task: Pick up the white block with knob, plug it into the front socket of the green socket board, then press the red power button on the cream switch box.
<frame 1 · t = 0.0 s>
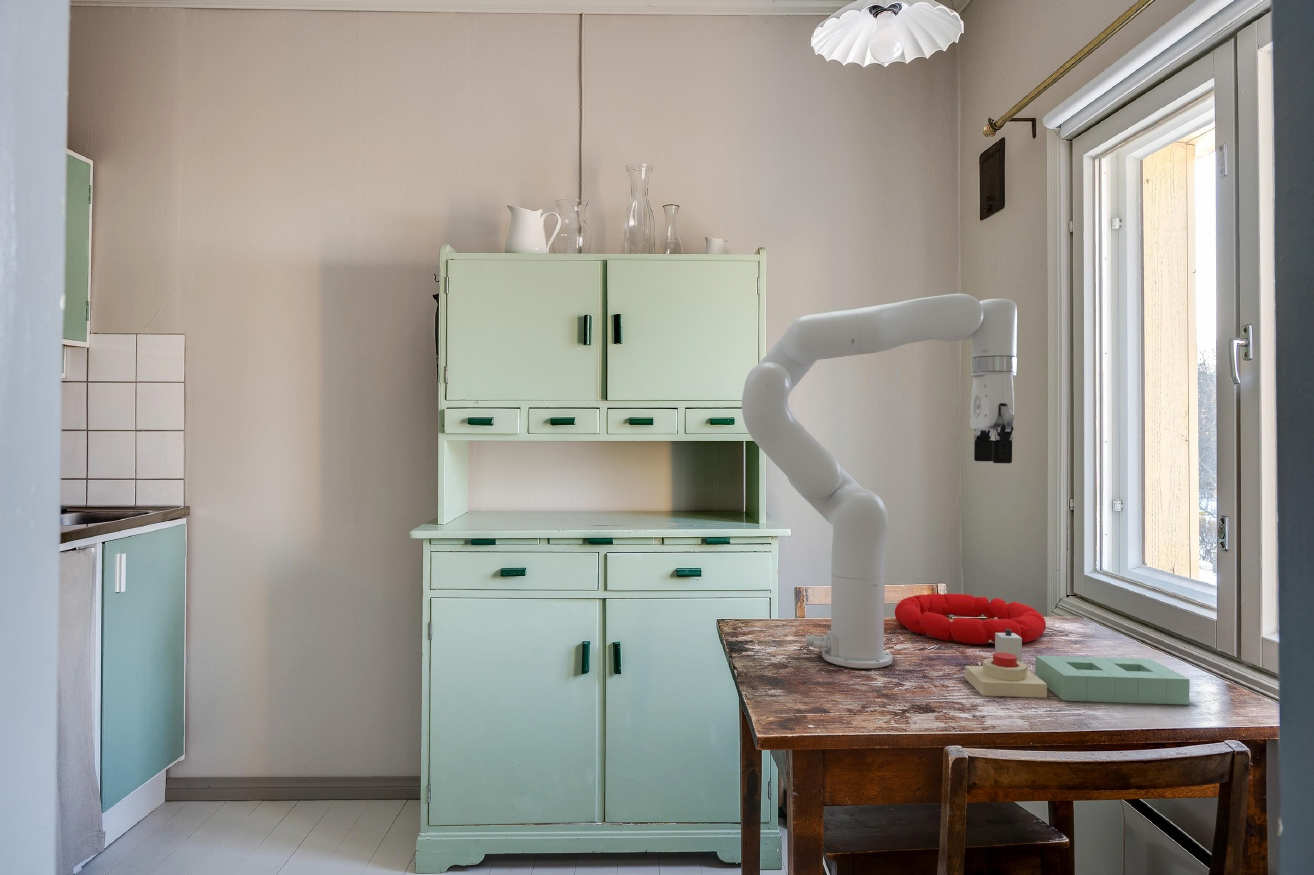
hand: (992, 462, 144), 37 cm above the table, tool pointing down, fingers open, 9 cm apart
power button: (1004, 660, 130), point 4 cm above the table, slide at 0.1 cm
switch box: (1004, 687, 130), on the table
decorative ring: (967, 630, 170), on the table
green socket board: (1108, 691, 129), on the table
white block with knob: (1007, 668, 141), on the table
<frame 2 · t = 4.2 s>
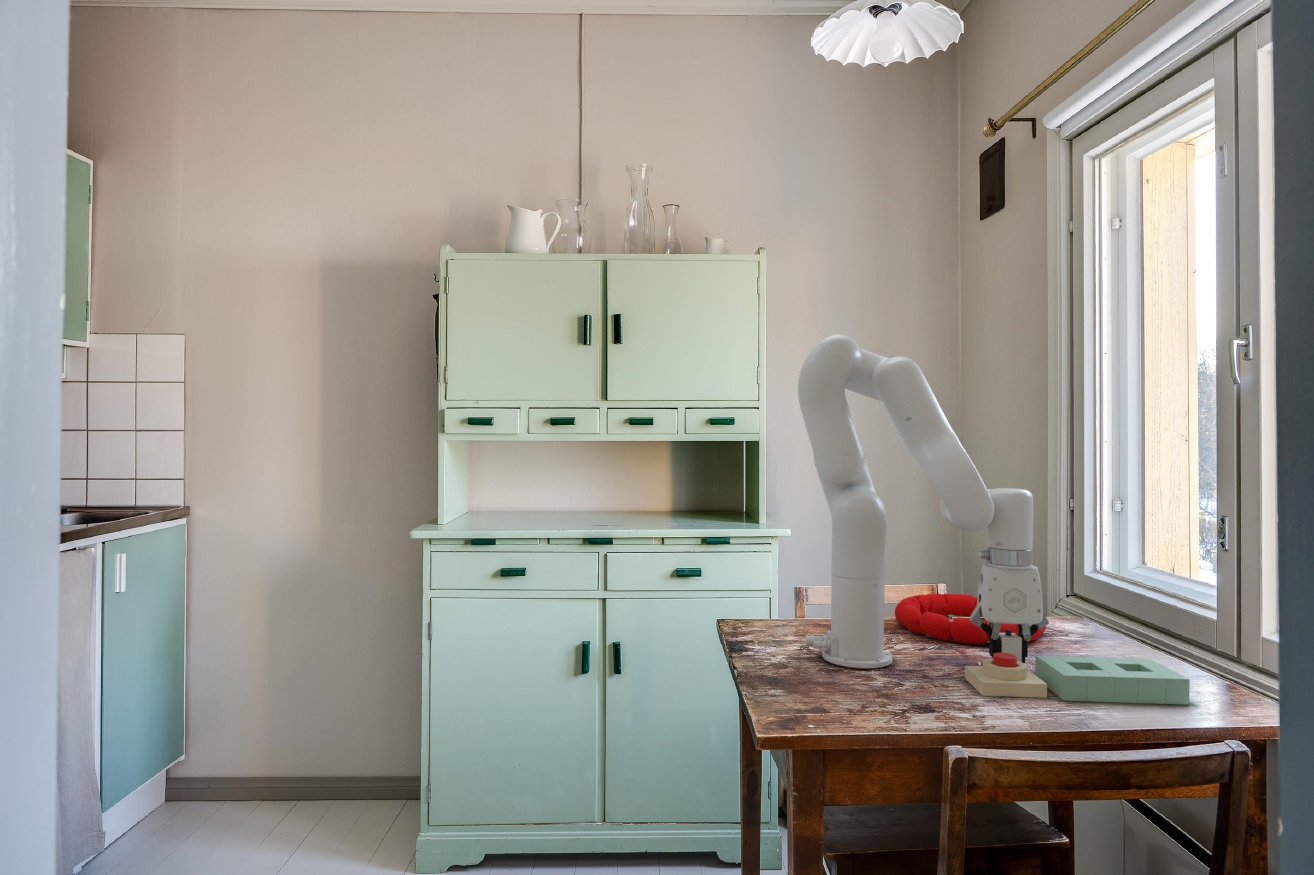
hand: (1008, 659, 141), 2 cm above the table, tool pointing down, fingers closed on white block with knob, 3 cm apart
white block with knob: (1008, 668, 141), on the table, touching gripper
everything else where it was.
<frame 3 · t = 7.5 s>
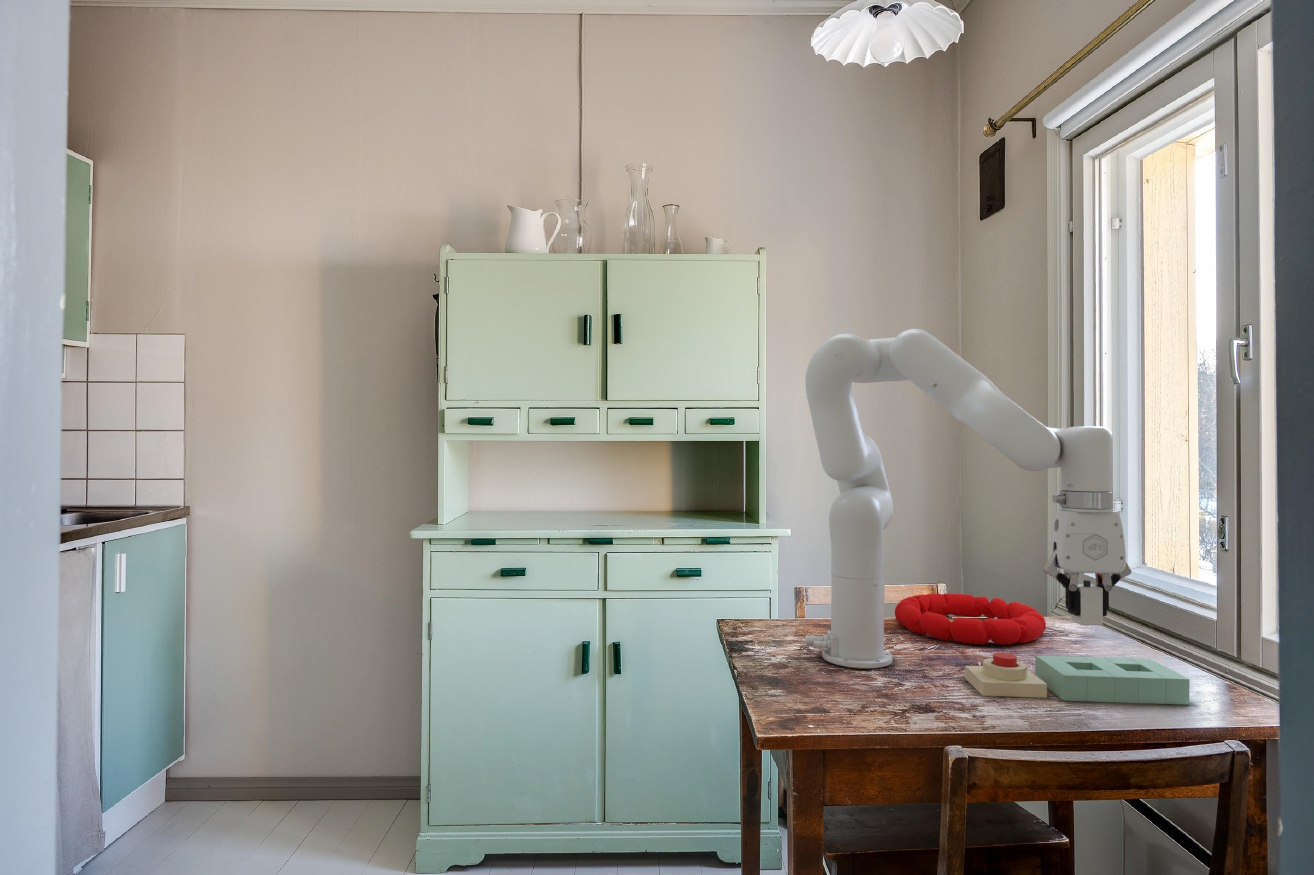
hand: (1087, 613, 129), 13 cm above the table, tool pointing down, fingers closed on white block with knob, 3 cm apart
white block with knob: (1087, 623, 129), point 11 cm above the table, touching gripper
everything else where it was.
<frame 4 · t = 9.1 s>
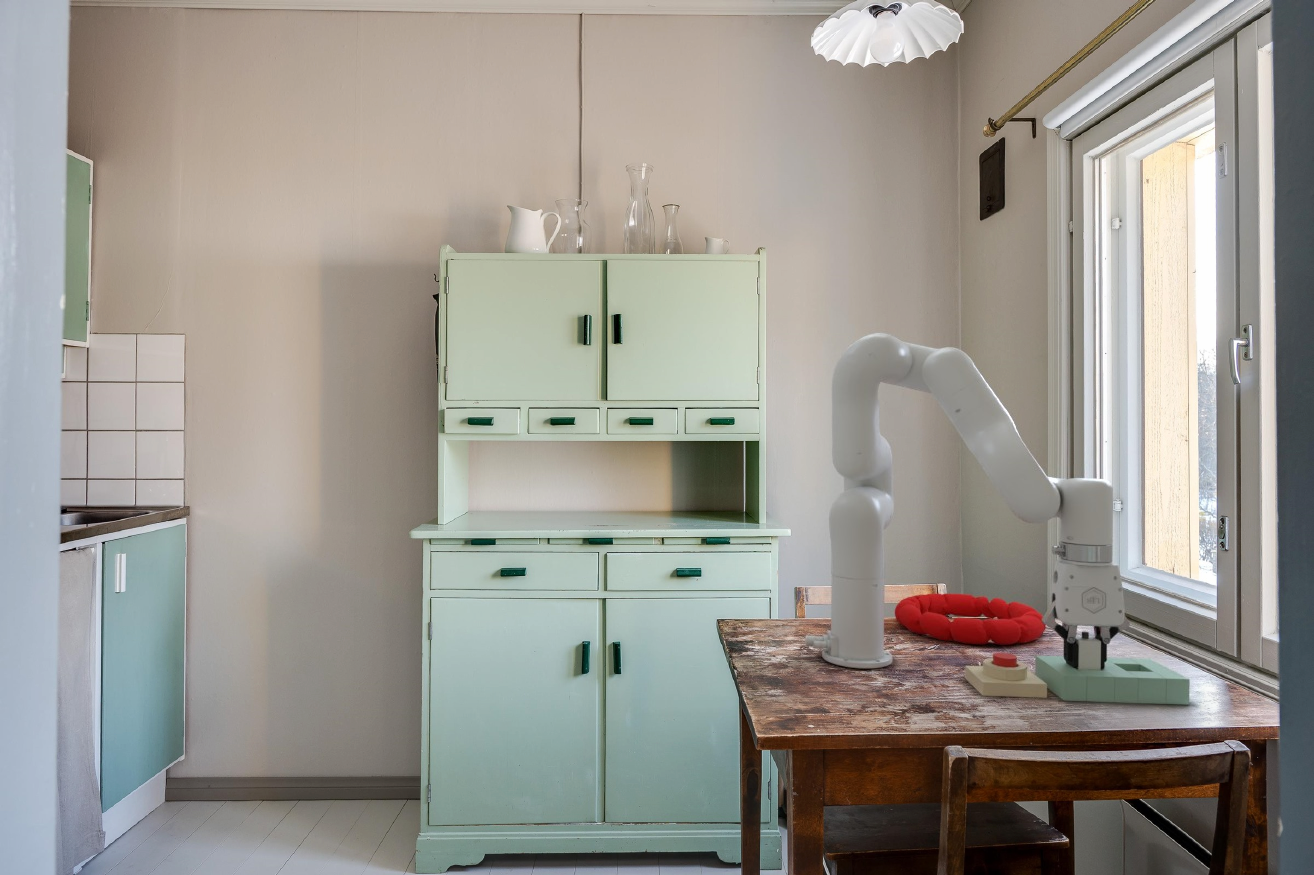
hand: (1084, 664, 129), 4 cm above the table, tool pointing down, fingers closed on white block with knob, 3 cm apart
white block with knob: (1084, 674, 129), point 3 cm above the table, touching gripper
everything else where it was.
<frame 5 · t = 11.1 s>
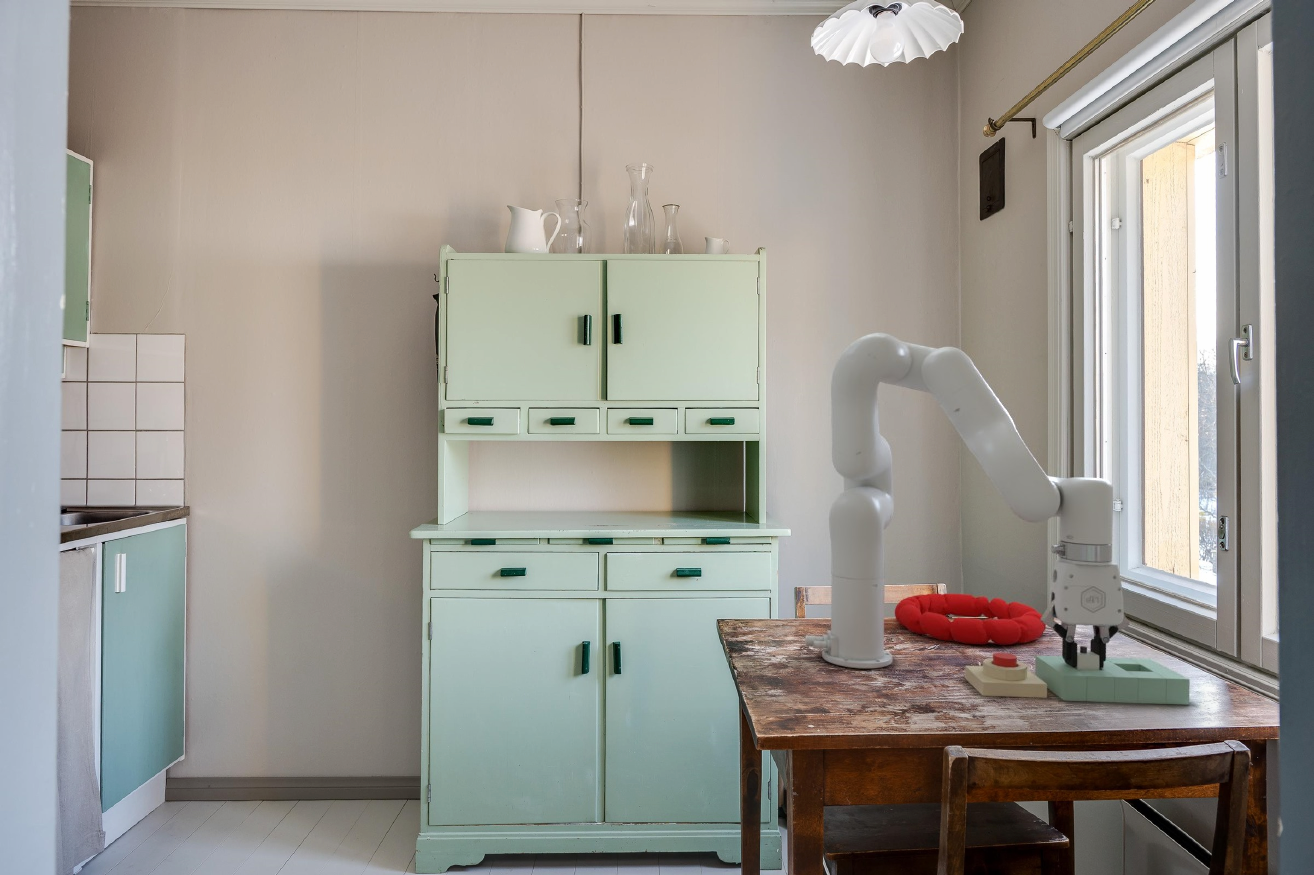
hand: (1083, 664, 129), 4 cm above the table, tool pointing down, fingers closed on white block with knob, 3 cm apart
white block with knob: (1083, 689, 129), resting in green socket board, touching gripper
everything else where it was.
when the fingers open (4 cm above the table, at t = 11.1 s): white block with knob stays where it is, resting in green socket board.
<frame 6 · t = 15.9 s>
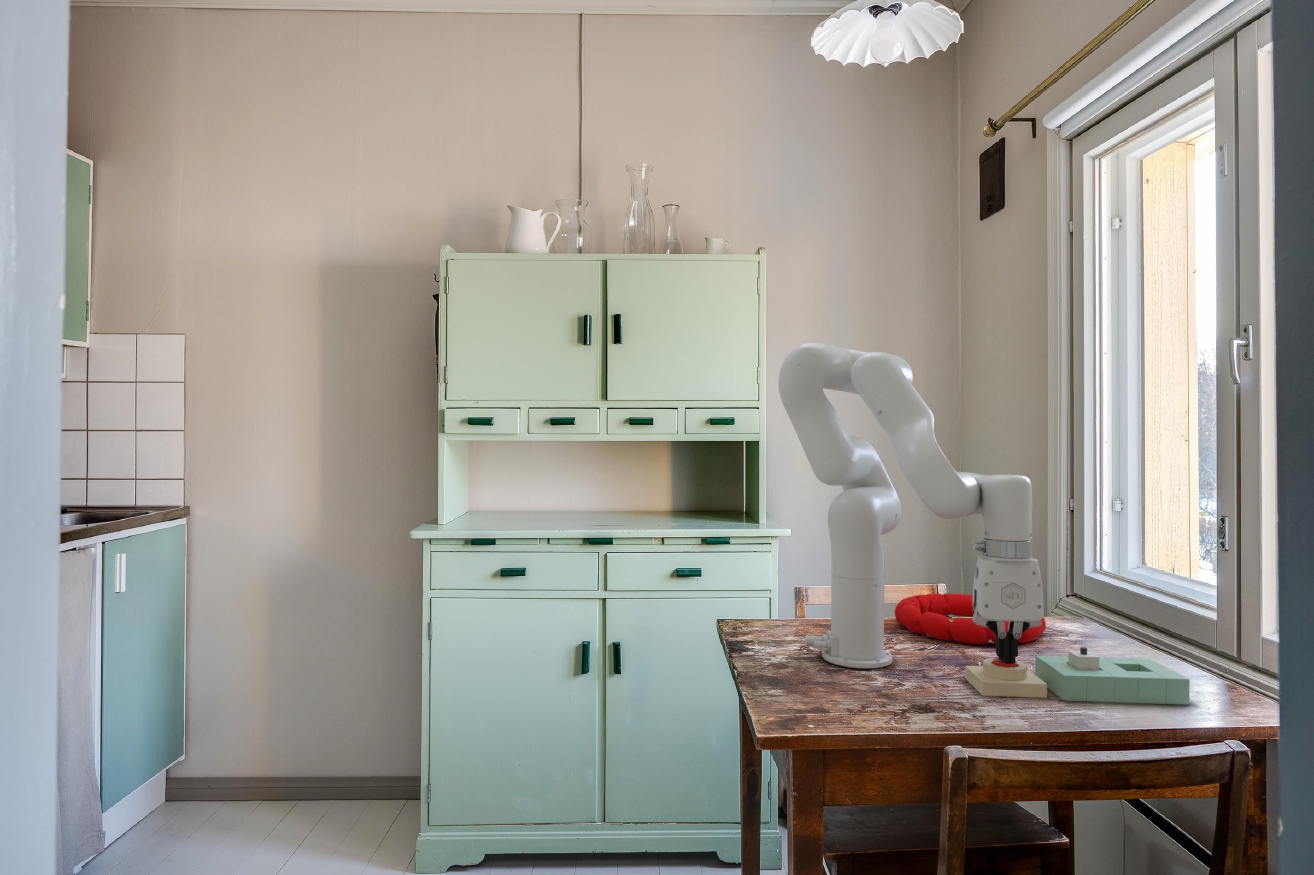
hand: (1006, 661, 130), 4 cm above the table, tool pointing down, fingers closed
power button: (1004, 666, 130), point 4 cm above the table, slide at -0.8 cm, touching gripper
white block with knob: (1083, 690, 129), resting in green socket board
everything else where it was.
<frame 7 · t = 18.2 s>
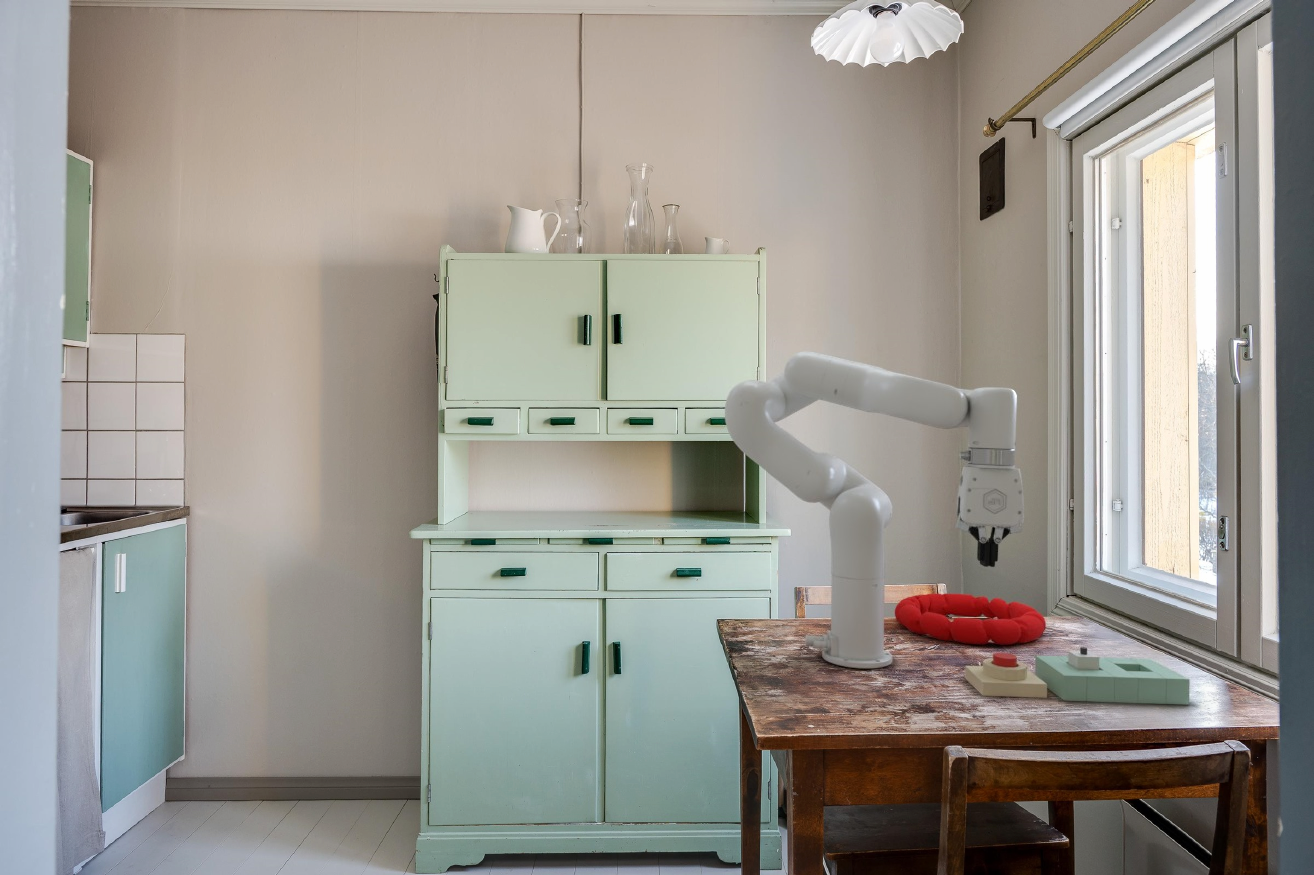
hand: (987, 565, 136), 19 cm above the table, tool pointing down, fingers closed
power button: (1004, 660, 130), point 4 cm above the table, slide at 0.1 cm
everything else where it was.
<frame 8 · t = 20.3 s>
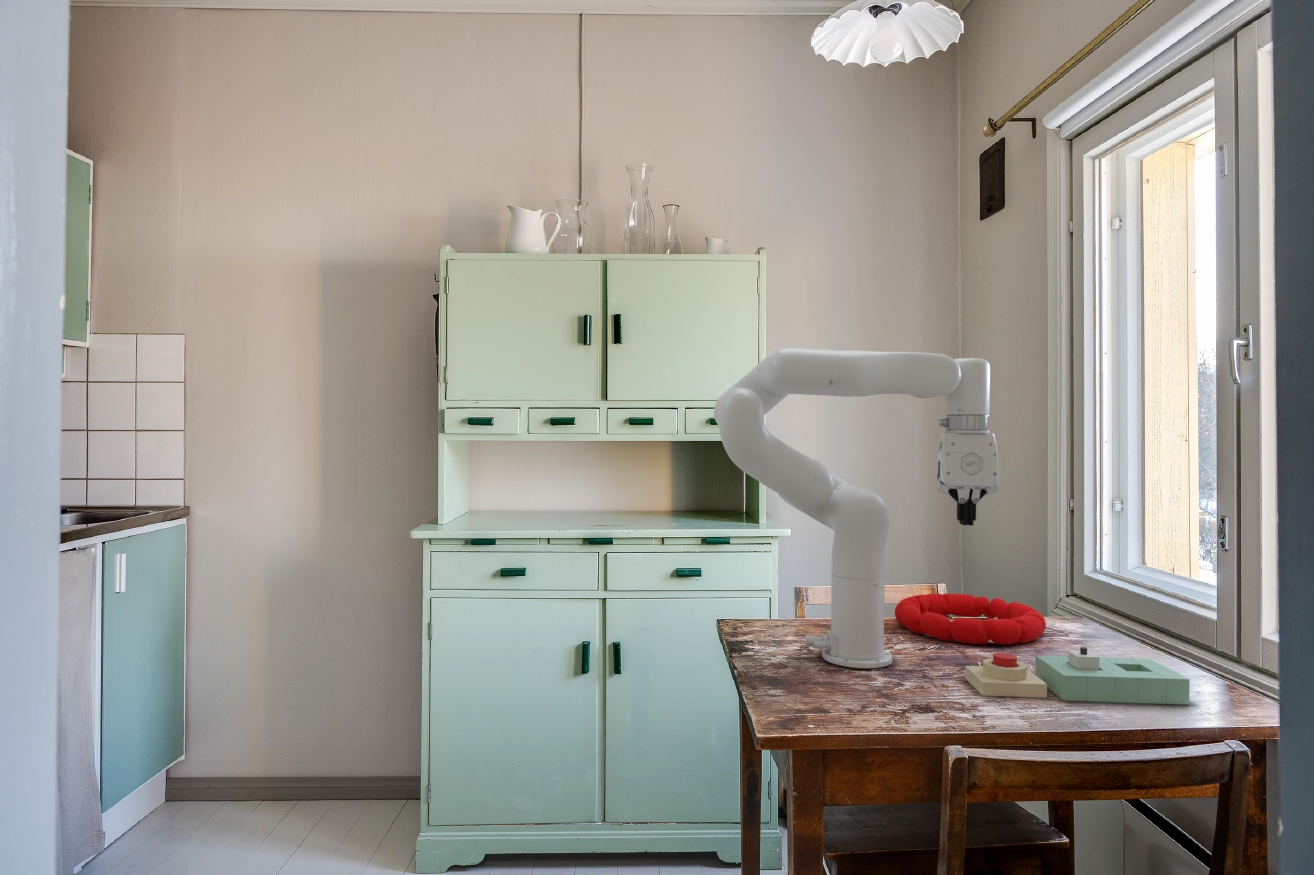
hand: (966, 524, 146), 25 cm above the table, tool pointing down, fingers closed
nothing on the table moved.
at the end: white block with knob 0.2 cm from the target spot in the green socket board, point 0.0 cm above the green socket board's base; power button pushed in 1.1 cm at the most during the clip and back out by the end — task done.
